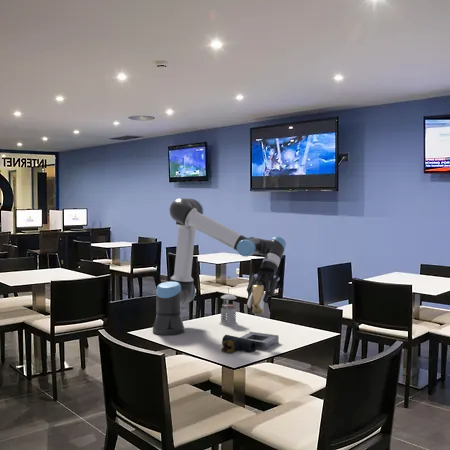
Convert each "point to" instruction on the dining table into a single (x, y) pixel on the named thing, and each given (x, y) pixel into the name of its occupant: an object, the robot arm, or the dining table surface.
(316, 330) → the dining table surface
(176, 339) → the dining table surface
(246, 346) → the pipe connector
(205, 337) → the dining table surface
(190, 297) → the robot arm
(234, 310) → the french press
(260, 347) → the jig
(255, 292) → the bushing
